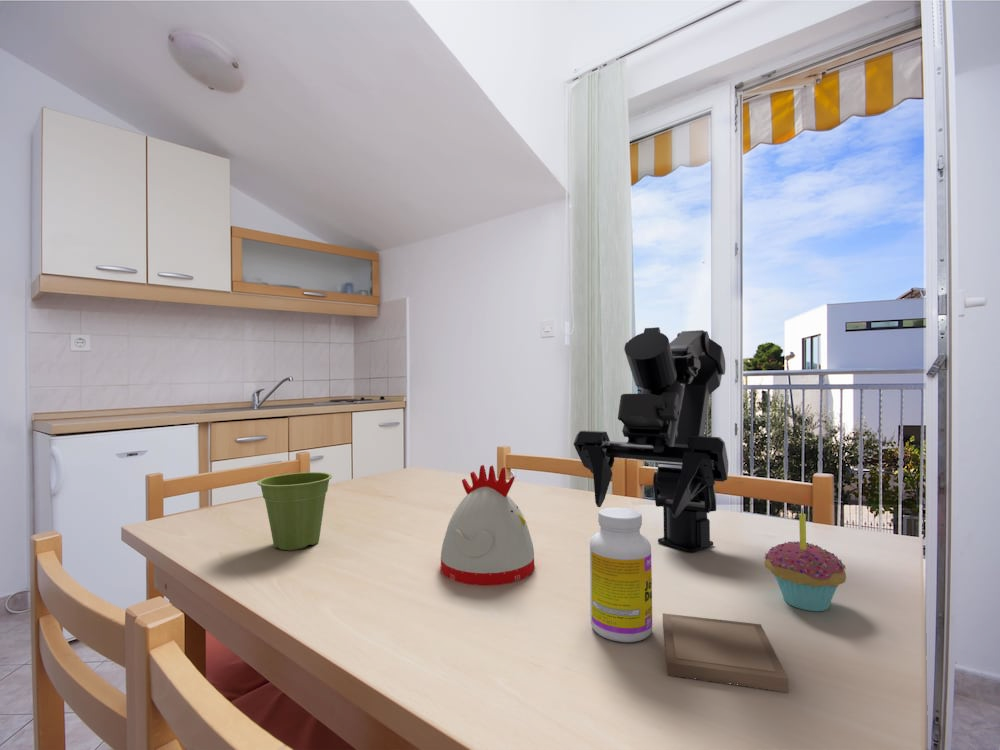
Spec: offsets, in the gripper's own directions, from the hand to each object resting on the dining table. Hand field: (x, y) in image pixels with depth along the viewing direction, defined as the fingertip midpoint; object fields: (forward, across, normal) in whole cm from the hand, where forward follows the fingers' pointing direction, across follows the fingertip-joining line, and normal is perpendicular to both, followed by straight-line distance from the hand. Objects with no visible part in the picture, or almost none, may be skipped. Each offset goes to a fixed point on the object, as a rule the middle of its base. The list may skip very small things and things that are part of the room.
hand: (634, 510), depth 59 cm
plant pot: (+13, -57, +5) cm, 58 cm away
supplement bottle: (+12, 0, +5) cm, 13 cm away
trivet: (+12, +10, +5) cm, 16 cm away
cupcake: (0, +17, +17) cm, 24 cm away
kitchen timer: (+7, -23, +10) cm, 26 cm away
